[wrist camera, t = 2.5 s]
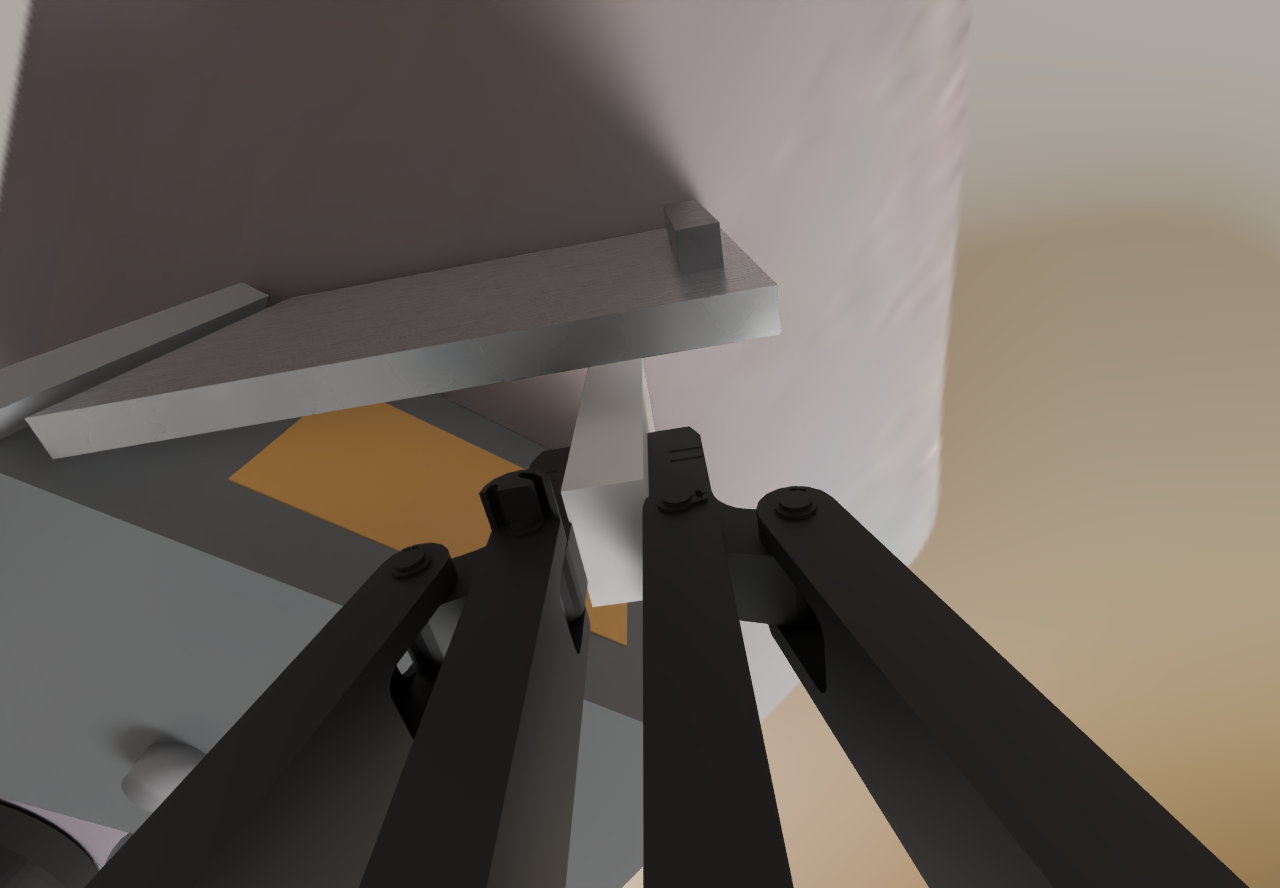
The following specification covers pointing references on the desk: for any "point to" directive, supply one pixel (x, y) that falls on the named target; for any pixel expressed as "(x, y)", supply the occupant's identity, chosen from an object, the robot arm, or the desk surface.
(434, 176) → the desk surface
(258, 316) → the side door
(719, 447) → the desk surface
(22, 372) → the grey cabinet with knob
